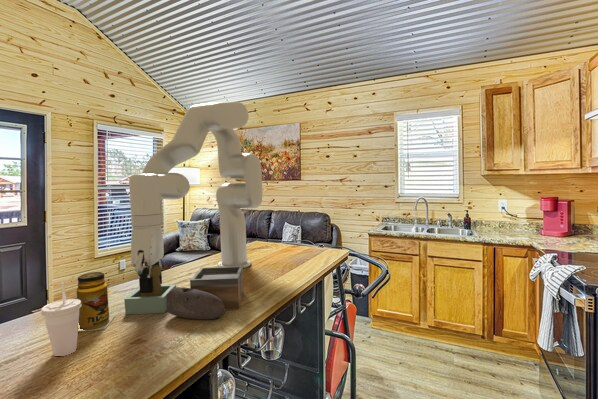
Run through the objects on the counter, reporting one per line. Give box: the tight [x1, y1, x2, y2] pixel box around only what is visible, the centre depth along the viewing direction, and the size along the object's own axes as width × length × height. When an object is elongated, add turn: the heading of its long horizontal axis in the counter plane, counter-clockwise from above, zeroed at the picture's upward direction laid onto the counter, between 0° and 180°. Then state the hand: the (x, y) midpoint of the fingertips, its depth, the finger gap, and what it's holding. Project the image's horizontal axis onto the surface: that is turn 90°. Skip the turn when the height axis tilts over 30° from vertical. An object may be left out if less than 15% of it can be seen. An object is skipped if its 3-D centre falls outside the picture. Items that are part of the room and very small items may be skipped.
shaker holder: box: [124, 284, 177, 315], centre depth 85 cm, size 10×10×4 cm
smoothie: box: [40, 281, 81, 357], centre depth 63 cm, size 6×6×14 cm
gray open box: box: [189, 266, 245, 311], centre depth 87 cm, size 11×12×8 cm
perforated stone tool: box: [166, 286, 226, 320], centre depth 77 cm, size 15×5×7 cm, turn 73°
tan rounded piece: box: [141, 265, 163, 297], centre depth 85 cm, size 6×6×11 cm
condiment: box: [76, 271, 116, 333], centre depth 75 cm, size 7×8×12 cm
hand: (151, 287), depth 85 cm, fingers closed on tan rounded piece, 5 cm apart
